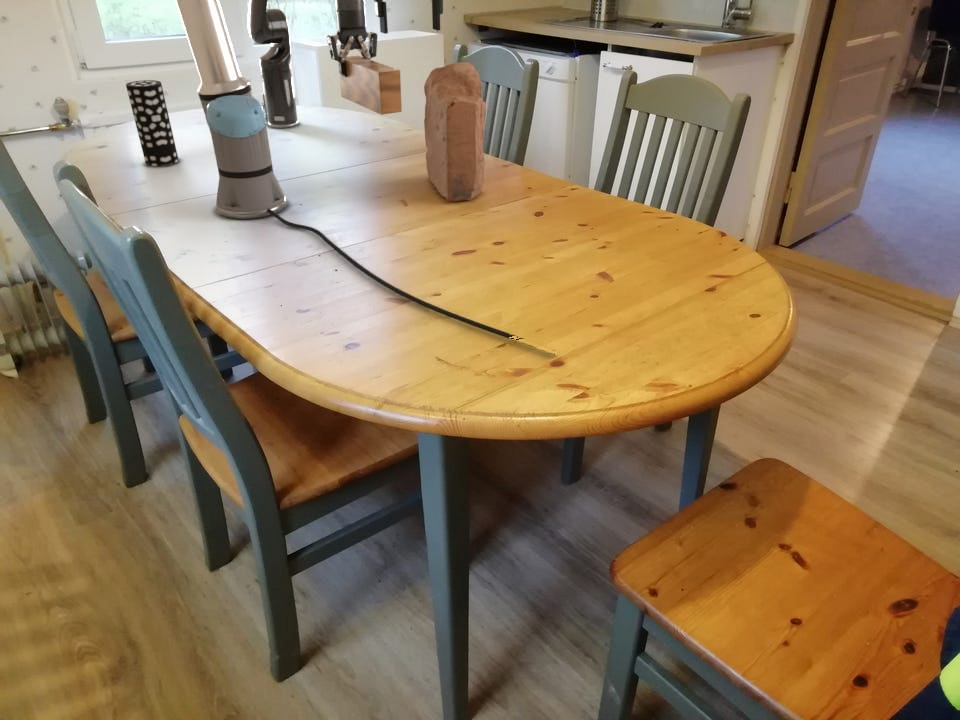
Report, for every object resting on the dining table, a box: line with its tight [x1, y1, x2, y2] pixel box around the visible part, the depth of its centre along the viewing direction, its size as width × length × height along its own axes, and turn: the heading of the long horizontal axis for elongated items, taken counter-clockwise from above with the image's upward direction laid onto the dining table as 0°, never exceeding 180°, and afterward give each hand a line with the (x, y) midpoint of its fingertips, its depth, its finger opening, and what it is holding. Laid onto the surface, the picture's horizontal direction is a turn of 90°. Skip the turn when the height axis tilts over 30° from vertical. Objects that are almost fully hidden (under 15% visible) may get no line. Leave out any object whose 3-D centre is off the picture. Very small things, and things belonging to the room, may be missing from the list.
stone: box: [423, 61, 487, 202], centre depth 163 cm, size 22×11×28 cm, turn 18°
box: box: [339, 55, 403, 116], centre depth 183 cm, size 23×6×10 cm, turn 35°
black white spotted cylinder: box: [125, 79, 179, 167], centre depth 181 cm, size 8×8×20 cm
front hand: (410, 31), depth 164 cm, fingers open, 13 cm apart
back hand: (355, 75), depth 188 cm, fingers closed on box, 6 cm apart
